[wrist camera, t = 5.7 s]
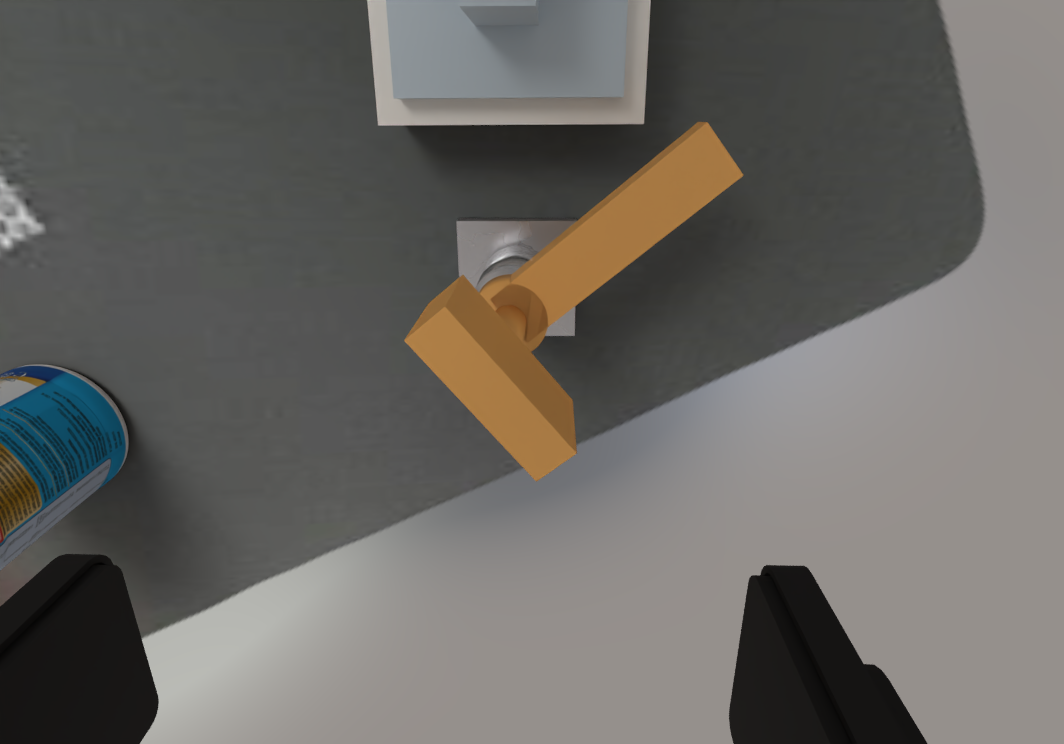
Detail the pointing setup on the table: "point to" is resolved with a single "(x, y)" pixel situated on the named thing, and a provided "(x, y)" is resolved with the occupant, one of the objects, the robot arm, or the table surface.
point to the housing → (514, 108)
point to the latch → (558, 301)
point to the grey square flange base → (508, 252)
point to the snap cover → (507, 48)
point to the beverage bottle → (52, 449)
